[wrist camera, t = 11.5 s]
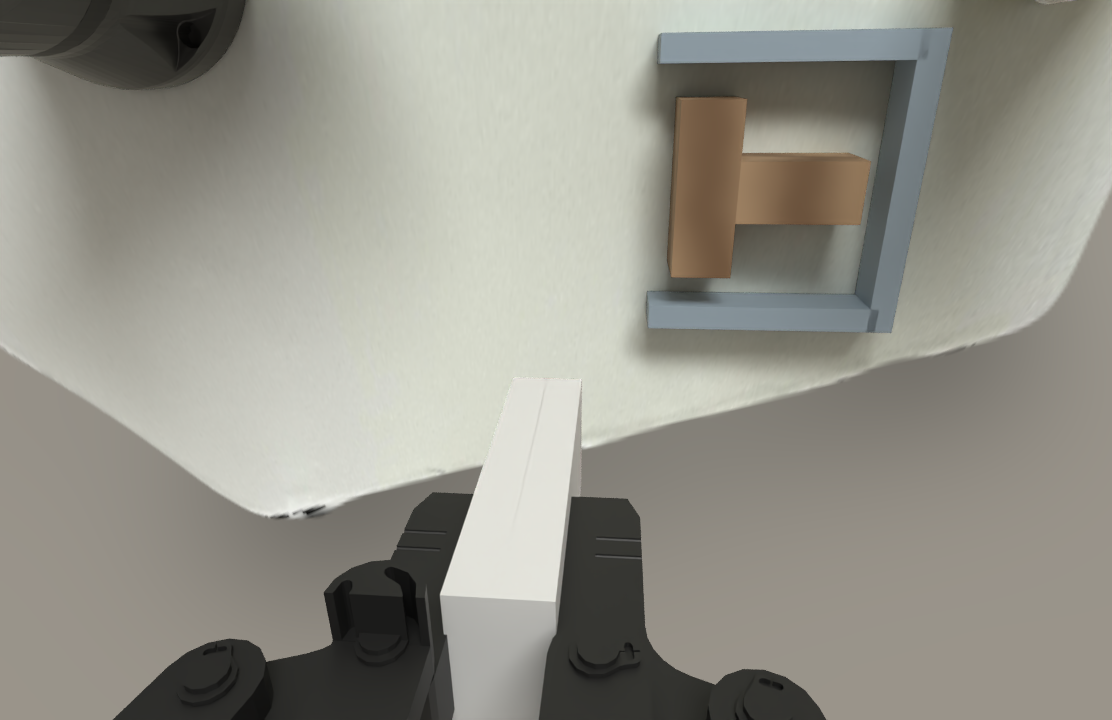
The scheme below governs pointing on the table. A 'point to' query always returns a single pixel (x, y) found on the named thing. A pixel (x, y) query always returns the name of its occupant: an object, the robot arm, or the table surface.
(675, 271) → the t block
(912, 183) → the dock
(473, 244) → the table surface
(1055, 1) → the juice carton
